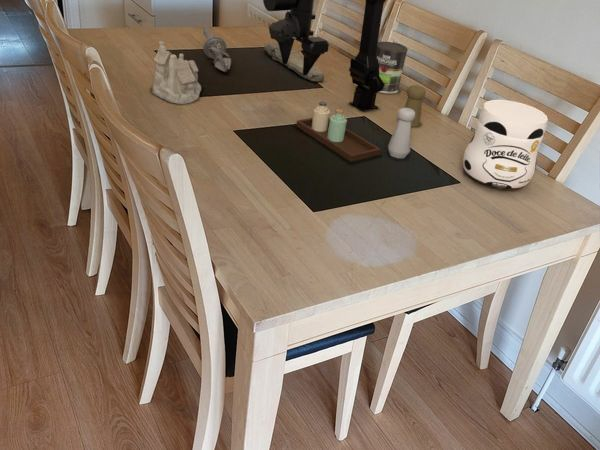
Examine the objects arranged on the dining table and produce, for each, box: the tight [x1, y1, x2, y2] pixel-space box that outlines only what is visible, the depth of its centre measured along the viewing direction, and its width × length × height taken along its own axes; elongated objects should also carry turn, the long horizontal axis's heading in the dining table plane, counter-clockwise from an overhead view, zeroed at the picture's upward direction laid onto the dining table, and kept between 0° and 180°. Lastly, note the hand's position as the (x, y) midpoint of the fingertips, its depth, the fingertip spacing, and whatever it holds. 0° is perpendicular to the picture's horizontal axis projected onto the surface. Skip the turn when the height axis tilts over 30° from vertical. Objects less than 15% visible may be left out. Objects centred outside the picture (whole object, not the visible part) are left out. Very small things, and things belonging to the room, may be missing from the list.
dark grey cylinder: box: [376, 41, 409, 95], centre depth 195 cm, size 10×10×14 cm
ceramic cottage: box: [151, 40, 202, 105], centre depth 172 cm, size 16×16×15 cm
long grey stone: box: [263, 41, 325, 82], centre depth 207 cm, size 35×5×10 cm
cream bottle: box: [311, 101, 331, 132], centre depth 161 cm, size 4×4×7 cm
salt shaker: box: [387, 107, 415, 159], centre depth 152 cm, size 6×6×13 cm
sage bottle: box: [327, 108, 348, 142], centre depth 156 cm, size 4×4×8 cm
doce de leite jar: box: [462, 99, 549, 191], centre depth 146 cm, size 17×17×18 cm
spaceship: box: [202, 25, 232, 73], centre depth 202 cm, size 8×35×8 cm
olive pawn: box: [403, 84, 426, 128], centre depth 173 cm, size 6×6×11 cm
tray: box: [295, 117, 382, 163], centre depth 158 cm, size 10×23×2 cm, turn 37°
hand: (294, 69), depth 159 cm, fingers open, 9 cm apart
